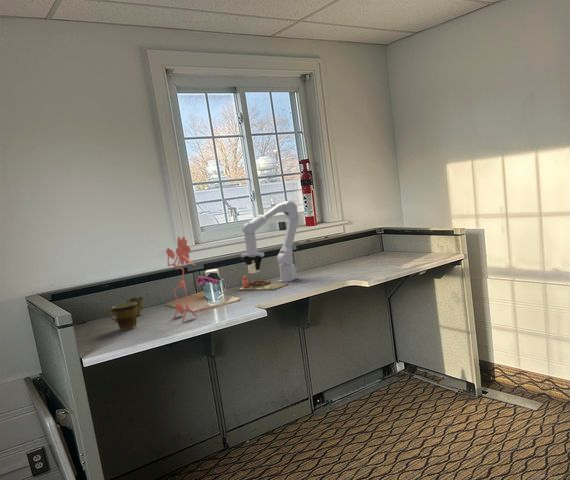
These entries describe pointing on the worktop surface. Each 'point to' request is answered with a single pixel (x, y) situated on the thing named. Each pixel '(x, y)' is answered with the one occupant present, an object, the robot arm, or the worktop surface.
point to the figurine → (183, 256)
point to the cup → (139, 304)
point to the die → (252, 268)
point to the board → (263, 286)
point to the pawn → (245, 282)
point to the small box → (212, 272)
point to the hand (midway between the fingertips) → (254, 270)
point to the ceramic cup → (125, 315)
